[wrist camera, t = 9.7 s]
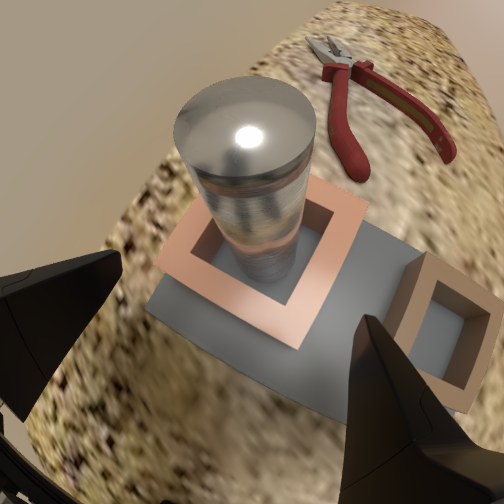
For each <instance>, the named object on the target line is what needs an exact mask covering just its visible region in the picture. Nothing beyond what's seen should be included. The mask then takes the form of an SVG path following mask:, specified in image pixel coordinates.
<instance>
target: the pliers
mask: <svg viewBox="0 0 504 504" xmlns="http://www.w3.org/2000/svg"><path fill="white" fill-rule="evenodd" d="M305 39H306V40H307V42H308V43H309V45H310V46H311V47H312V49H313V50H314V52H315V53H316V54H317V56H318V57H319V59H320V60H321V61H322V62H323V63H324V66H323V72H322V81H325V82H330V83H333V84H332V93H331V100H330V108H329V115H328V130H329V137H330V140H331V143H332V146H333V148H334V149H335V151H336V153H337V154H338V156H339V158H340V160H341V161H342V163H343V165H344V167H345V169H346V170H347V172H348V174H349V175H350V177H351V178H352V179H354V180H355V181H358V182H364V181H367V180H368V179H369V176H370V172H371V170H370V164H369V161H368V159H367V156H366V155H365V153H364V151H363V150H362V148H361V146H360V145H359V143H358V141H357V140H356V138H355V137H354V135H353V134H352V132H351V130H350V127H349V125H348V121H347V114H346V108H347V94H348V79H349V78H350V79H351V80H353V81H355V82H357V83H358V84H360V85H362V86H363V87H365V88H367V89H368V90H370V91H371V92H373V93H375V94H376V95H378V96H379V97H381V98H383V99H384V100H386V101H387V102H389V103H390V104H392V105H393V106H394V107H396V108H397V109H399V110H400V111H402V112H403V113H404V114H406V115H407V116H409V117H410V118H411V119H412V120H414V121H415V122H416V123H417V124H418V125H419V126H420V127H421V128H422V129H423V130H424V131H425V133H426V134H427V135H428V137H429V138H430V140H431V141H432V143H433V145H434V146H435V148H436V150H437V151H438V153H439V155H440V156H441V158H442V160H443V162H444V163H445V164H446V163H450V162H451V161H452V160H453V159H454V158H455V156H456V153H457V149H456V145H455V143H454V141H453V140H452V138H451V136H450V135H449V133H448V132H447V130H446V129H445V127H444V126H443V124H442V123H441V121H440V120H439V118H438V117H437V116H436V115H435V114H434V113H433V112H432V111H431V110H430V109H429V108H428V107H427V106H425V105H424V104H423V103H422V102H421V101H419V100H418V99H416V98H415V97H414V96H412V95H411V94H409V93H408V92H406V91H405V90H403V89H402V88H400V87H399V86H397V85H396V84H394V83H392V82H391V81H389V80H388V79H386V78H384V77H383V76H381V75H379V74H377V73H376V72H374V71H373V67H374V64H373V63H371V62H370V61H368V60H367V61H365V62H363V63H361V62H359V61H357V62H356V63H355V62H354V61H353V60H352V56H351V55H350V54H349V52H348V51H347V50H345V49H344V48H343V47H342V46H340V45H339V44H338V43H336V42H335V41H334V40H332V39H331V38H330V37H328V36H327V39H328V41H329V44H330V46H331V48H332V50H333V53H334V55H335V56H334V55H333V54H332V53H331V50H330V49H328V48H327V47H325V46H324V45H322V44H320V43H318V42H316V41H314V40H312V39H310V38H308V37H305Z"/></svg>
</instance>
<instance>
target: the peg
mask: <svg viewBox="0 0 504 504" xmlns="http://www.w3.org/2000/svg"><path fill="white" fill-rule="evenodd" d="M315 129H316V115H315V112H314V109H313V107H312V105H311V103H310V101H309V100H308V99H307V98H306V96H305V95H304V94H303V93H301V92H300V91H299V90H298V89H296V88H295V87H293V86H291V85H289V84H287V83H285V82H282V81H279V80H276V79H272V78H267V77H259V76H244V77H236V78H231V79H227V80H223V81H220V82H218V83H215V84H213V85H211V86H209V87H207V88H205V89H203V90H202V91H200V92H198V93H197V94H196V95H194V96H193V97H192V98H191V99H190V100H189V101H188V102H187V103H186V104H185V105H184V107H183V108H182V109H181V111H180V112H179V114H178V116H177V118H176V121H175V124H174V131H173V135H174V141H175V145H176V148H177V150H178V152H179V154H180V156H181V158H182V160H183V161H184V163H185V165H186V167H187V169H188V171H189V173H190V175H191V177H192V179H193V181H194V183H195V184H196V186H197V188H198V190H199V192H200V194H201V196H202V198H203V200H204V202H205V203H206V205H207V207H208V209H209V211H210V213H211V215H212V217H213V219H214V220H215V222H216V224H217V226H218V228H219V230H220V232H221V233H222V235H223V237H224V239H225V241H226V243H227V245H228V246H229V248H230V250H231V252H232V254H233V256H234V258H235V259H236V261H237V263H238V265H239V267H240V269H241V270H242V271H243V273H244V274H245V275H246V276H248V277H249V278H251V279H253V280H255V281H258V282H273V281H276V280H279V279H281V278H282V277H284V276H285V275H286V274H287V273H288V272H289V271H290V269H291V268H292V266H293V264H294V261H295V256H296V250H297V245H298V239H299V233H300V228H301V222H302V216H303V210H304V204H305V198H306V192H307V185H308V179H309V172H310V165H311V158H312V151H313V144H314V137H315Z"/></svg>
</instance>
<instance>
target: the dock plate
mask: <svg viewBox="0 0 504 504" xmlns="http://www.w3.org/2000/svg"><path fill="white" fill-rule="evenodd" d="M322 236H323V235H322V234H320V233H318V232H316V231H314V230H312V229H310V228H308V227H306V226H304V225H302V224H301V228H300V233H299V239H298V245H297V250H296V256H295V261H294V264H293V266H292V268H291V269H290V271H289V272H288V273H287V274H286V275H285V276H284V277H282V278H281V279H279V280H276V281H273V282H258V281H255V280H253V279H251V278H249V277H248V276H246V275H245V274H244V273H243V271H242V270H241V269H240V267H239V265H238V263H237V261H236V259H235V258H234V256H233V254H232V252H231V250H230V248H229V246H228V245H227V243H226V241H224V242H223V244H222V246H221V247H220V249H219V250H218V252H217V254H216V255H215V257H214V258H213V260H212V262H211V263H210V265H212V266H214V267H216V268H217V269H219V270H221V271H223V272H224V273H226V274H228V275H230V276H231V277H233V278H235V279H237V280H238V281H240V282H242V283H244V284H246V285H247V286H249V287H251V288H253V289H255V290H256V291H258V292H260V293H262V294H264V295H266V296H267V297H269V298H271V299H273V300H275V301H277V302H278V303H280V304H282V305H284V306H285V305H286V304H287V302H288V300H289V298H290V296H291V295H292V293H293V291H294V289H295V287H296V286H297V284H298V282H299V280H300V278H301V276H302V274H303V273H304V271H305V269H306V267H307V265H308V263H309V261H310V259H311V257H312V256H313V254H314V252H315V250H316V248H317V246H318V244H319V242H320V240H321V238H322ZM144 309H145V310H146V311H148V312H149V313H150V314H152V315H153V316H155V317H156V318H157V319H159V320H160V321H162V322H163V323H164V324H166V325H167V326H169V327H170V328H172V329H173V330H174V331H176V332H177V333H179V334H180V335H182V336H183V337H185V338H186V339H188V340H189V341H191V342H192V343H194V344H195V345H197V346H198V347H200V348H202V349H203V350H205V351H206V352H208V353H209V354H211V355H213V356H214V357H216V358H218V359H219V360H221V361H222V362H224V363H226V364H227V365H229V366H231V367H232V368H234V369H236V370H238V371H239V372H241V373H243V374H244V375H246V376H248V377H250V378H252V379H253V380H255V381H257V382H259V383H261V384H262V385H264V386H266V387H268V388H270V389H272V390H274V391H275V392H277V393H279V394H281V395H283V396H285V397H287V398H289V399H291V400H293V401H295V402H297V403H299V404H301V405H303V406H305V407H307V408H309V409H311V410H314V411H316V412H318V413H320V414H322V415H324V416H327V417H329V418H331V419H333V420H336V421H338V422H340V423H343V424H345V425H347V409H348V380H349V370H350V362H351V354H352V346H353V337H354V333H355V331H356V329H357V326H358V324H359V322H360V320H361V318H362V316H363V315H364V314H369V315H374V316H376V317H377V319H378V320H379V321H380V322H381V324H382V325H383V326H384V327H385V329H386V330H387V331H388V333H389V334H390V335H391V336H392V338H393V339H394V340H395V342H396V343H397V344H398V345H399V347H400V348H401V349H402V351H403V352H404V353H405V355H406V356H407V357H408V359H409V360H410V361H411V363H412V364H413V365H414V367H415V368H416V369H417V371H418V372H419V373H420V375H421V376H422V378H423V379H424V380H425V382H426V383H427V384H426V385H428V386H429V387H430V389H431V390H432V391H433V393H434V394H435V395H436V397H437V398H438V400H439V401H440V402H441V404H442V405H443V406H444V407H445V409H446V410H447V411H448V412H449V414H450V415H451V416H452V417H453V415H454V413H455V411H457V412H460V413H463V414H466V415H467V413H468V411H469V409H470V407H471V405H472V403H473V401H474V398H475V396H476V394H477V392H478V389H479V387H480V384H481V382H482V380H483V377H484V374H485V372H486V369H487V366H488V364H489V361H490V358H491V355H492V352H493V349H494V346H495V343H496V339H497V336H498V332H499V329H500V325H501V321H502V317H503V313H504V302H503V301H502V300H500V299H499V298H498V297H496V296H495V295H493V294H492V293H491V292H489V291H488V290H486V289H485V288H483V287H482V286H481V285H479V284H478V283H476V282H475V281H473V280H472V279H470V278H469V277H467V276H466V275H464V274H463V273H461V272H460V271H458V270H457V269H455V268H453V267H452V266H450V265H449V264H447V263H446V262H444V261H442V260H441V259H439V258H438V257H436V256H434V255H433V254H431V253H429V252H428V251H426V252H425V253H422V252H420V251H419V250H417V249H415V248H413V247H412V246H410V245H408V244H406V243H405V242H403V241H401V240H399V239H398V238H396V237H394V236H392V235H391V234H389V233H387V232H385V231H383V230H381V229H380V228H378V227H376V226H374V225H372V224H370V223H368V222H367V221H365V220H362V222H361V225H360V227H359V229H358V232H357V234H356V236H355V238H354V240H353V243H352V245H351V247H350V249H349V251H348V254H347V256H346V258H345V260H344V262H343V264H342V266H341V268H340V270H339V273H338V275H337V277H336V279H335V281H334V283H333V285H332V287H331V289H330V291H329V293H328V295H327V297H326V299H325V301H324V302H323V304H322V306H321V308H320V310H319V312H318V314H317V316H316V318H315V320H314V321H313V323H312V325H311V327H310V329H309V331H308V332H307V334H306V336H305V338H304V340H303V341H302V343H301V345H300V347H299V348H298V350H297V349H295V348H293V347H291V346H289V345H287V344H286V343H284V342H282V341H280V340H278V339H276V338H275V337H273V336H271V335H269V334H267V333H266V332H264V331H262V330H260V329H258V328H257V327H255V326H253V325H251V324H250V323H248V322H246V321H244V320H243V319H241V318H239V317H237V316H236V315H234V314H232V313H231V312H229V311H227V310H225V309H224V308H222V307H220V306H219V305H217V304H215V303H214V302H212V301H210V300H209V299H207V298H205V297H204V296H202V295H201V294H199V293H197V292H196V291H194V290H193V289H191V288H189V287H188V286H186V285H185V284H183V283H181V282H180V281H178V280H177V279H175V278H174V277H172V276H170V275H169V274H167V273H165V274H164V276H163V278H162V279H161V281H160V283H159V284H158V286H157V288H156V289H155V291H154V293H153V294H152V296H151V298H150V299H149V301H148V303H147V305H146V306H145V308H144Z"/></svg>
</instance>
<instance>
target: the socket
mask: <svg viewBox="0 0 504 504" xmlns="http://www.w3.org/2000/svg"><path fill="white" fill-rule="evenodd" d="M368 206H369V202H367V201H365V200H363V199H361V198H360V197H358V196H356V195H354V194H352V193H350V192H348V191H346V190H344V189H341V188H339V187H337V186H335V185H333V184H331V183H329V182H327V181H325V180H323V179H320V178H318V177H316V176H314V175H312V174H309V179H308V185H307V192H306V198H305V204H304V210H303V216H302V222H301V224H302V225H304V226H306V227H308V228H310V229H312V230H314V231H316V232H318V233H320V234H322V235H323V236H322V238H321V240H320V242H319V244H318V246H317V248H316V250H315V252H314V254H313V256H312V257H311V259H310V261H309V263H308V265H307V267H306V269H305V271H304V273H303V274H302V276H301V278H300V280H299V282H298V284H297V286H296V287H295V289H294V291H293V293H292V295H291V296H290V298H289V300H288V302H287V304H286V305H285V306H284V305H282V304H280V303H278V302H277V301H275V300H273V299H271V298H269V297H267V296H266V295H264V294H262V293H260V292H258V291H256V290H255V289H253V288H251V287H249V286H247V285H246V284H244V283H242V282H240V281H238V280H237V279H235V278H233V277H231V276H230V275H228V274H226V273H224V272H223V271H221V270H219V269H217V268H216V267H214V266H212V265H210V263H211V262H212V260H213V258H214V257H215V255H216V254H217V252H218V250H219V249H220V247H221V246H222V244H223V242H224V241H225V239H224V237H223V235H222V233H221V232H220V230H219V228H218V226H217V224H216V222H215V220H214V219H213V217H212V215H211V213H210V211H209V209H208V207H207V205H206V203H205V202H204V200H203V198H202V196H201V194H200V192H199V194H198V195H197V197H196V198H195V200H194V201H193V202H192V204H191V205H190V207H189V208H188V210H187V211H186V213H185V214H184V216H183V217H182V219H181V220H180V222H179V223H178V225H177V226H176V228H175V229H174V231H173V232H172V234H171V235H170V237H169V238H168V240H167V242H166V243H165V245H164V246H163V248H162V249H161V251H160V253H159V254H158V256H157V257H156V259H155V261H154V262H153V264H154V265H155V266H157V267H158V268H160V269H161V270H163V271H164V272H166V273H167V274H169V275H170V276H172V277H174V278H175V279H177V280H178V281H180V282H181V283H183V284H185V285H186V286H188V287H189V288H191V289H193V290H194V291H196V292H197V293H199V294H201V295H202V296H204V297H205V298H207V299H209V300H210V301H212V302H214V303H215V304H217V305H219V306H220V307H222V308H224V309H225V310H227V311H229V312H231V313H232V314H234V315H236V316H237V317H239V318H241V319H243V320H244V321H246V322H248V323H250V324H251V325H253V326H255V327H257V328H258V329H260V330H262V331H264V332H266V333H267V334H269V335H271V336H273V337H275V338H276V339H278V340H280V341H282V342H284V343H286V344H287V345H289V346H291V347H293V348H295V349H297V350H298V348H299V347H300V345H301V343H302V341H303V340H304V338H305V336H306V334H307V332H308V331H309V329H310V327H311V325H312V323H313V321H314V320H315V318H316V316H317V314H318V312H319V310H320V308H321V306H322V304H323V302H324V301H325V299H326V297H327V295H328V293H329V291H330V289H331V287H332V285H333V283H334V281H335V279H336V277H337V275H338V273H339V270H340V268H341V266H342V264H343V262H344V260H345V258H346V256H347V254H348V251H349V249H350V247H351V245H352V243H353V240H354V238H355V236H356V234H357V232H358V229H359V227H360V225H361V222H362V220H363V218H364V215H365V213H366V211H367V208H368Z"/></svg>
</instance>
